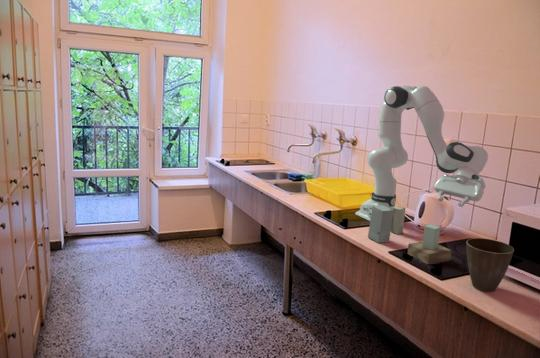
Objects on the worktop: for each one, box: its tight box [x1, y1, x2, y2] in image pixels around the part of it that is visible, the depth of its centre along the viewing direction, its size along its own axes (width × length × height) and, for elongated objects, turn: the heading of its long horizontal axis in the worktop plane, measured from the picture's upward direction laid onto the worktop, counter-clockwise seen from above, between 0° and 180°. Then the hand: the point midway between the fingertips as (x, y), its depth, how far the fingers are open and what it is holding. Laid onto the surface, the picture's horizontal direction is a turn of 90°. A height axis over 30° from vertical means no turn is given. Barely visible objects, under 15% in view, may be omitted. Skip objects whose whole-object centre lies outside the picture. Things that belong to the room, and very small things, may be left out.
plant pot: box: [465, 237, 515, 293], centre depth 147 cm, size 15×15×16 cm
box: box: [390, 205, 406, 235], centre depth 202 cm, size 5×4×13 cm
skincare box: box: [367, 205, 394, 244], centre depth 191 cm, size 8×7×16 cm
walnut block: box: [407, 241, 453, 265], centre depth 174 cm, size 12×12×5 cm
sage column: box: [422, 224, 441, 250], centre depth 172 cm, size 4×4×9 cm
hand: (449, 203), depth 177 cm, fingers open, 8 cm apart
